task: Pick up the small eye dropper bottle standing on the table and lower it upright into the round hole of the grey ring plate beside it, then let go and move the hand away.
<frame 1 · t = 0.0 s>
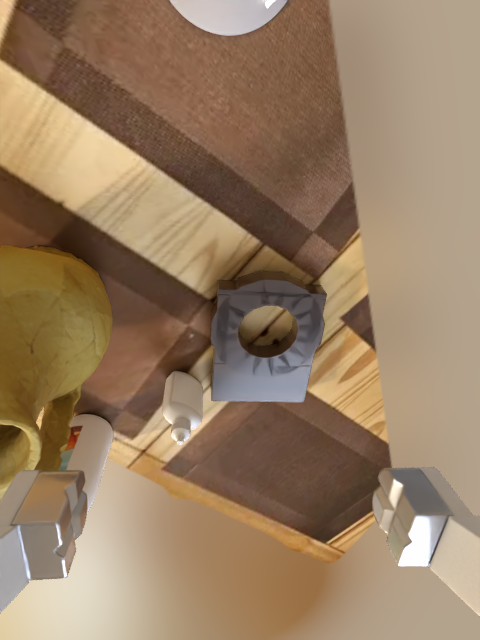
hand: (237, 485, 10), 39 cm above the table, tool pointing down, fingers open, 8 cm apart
milk bottle: (89, 429, 60), on the table
pitcher: (55, 299, 49), on the table
grey ring plate: (262, 339, 54), on the table
eye dropper bottle: (185, 381, 57), on the table
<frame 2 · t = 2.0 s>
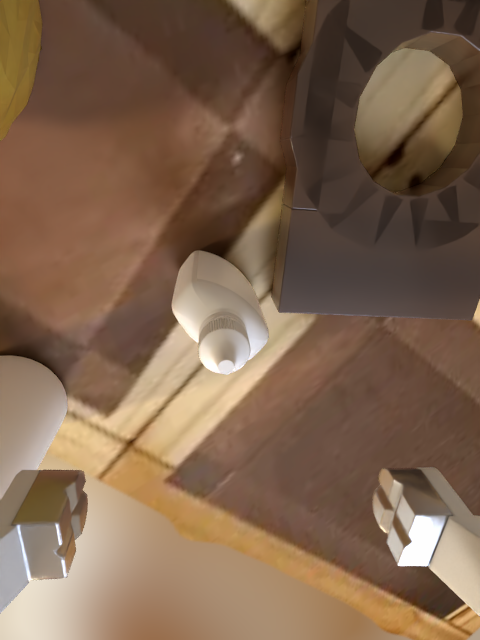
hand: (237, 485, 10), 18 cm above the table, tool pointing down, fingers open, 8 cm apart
milk bottle: (19, 393, 29), on the table
grey ring plate: (389, 175, 25), on the table
eye dropper bottle: (217, 281, 27), on the table
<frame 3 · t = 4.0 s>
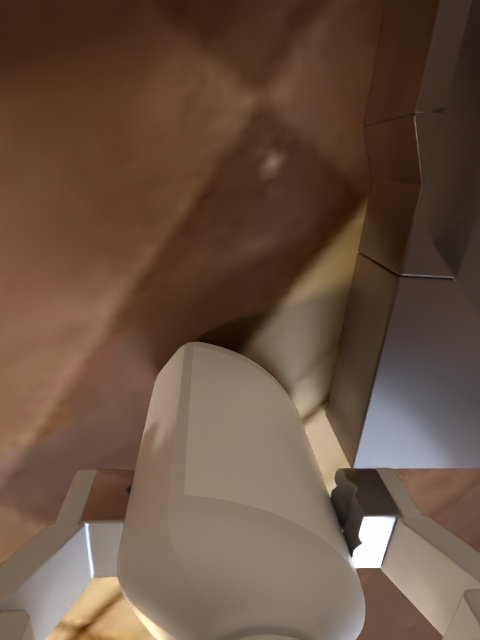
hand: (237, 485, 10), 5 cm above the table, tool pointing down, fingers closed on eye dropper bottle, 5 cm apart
eye dropper bottle: (228, 389, 15), on the table, touching gripper
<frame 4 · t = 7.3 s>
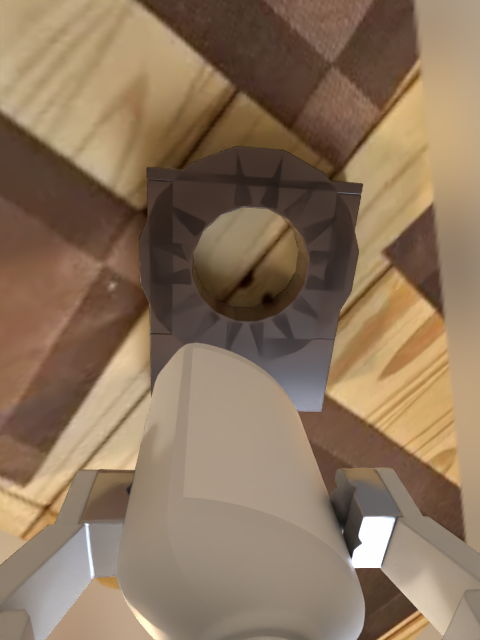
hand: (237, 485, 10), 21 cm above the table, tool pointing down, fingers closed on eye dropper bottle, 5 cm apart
grey ring plate: (243, 294, 30), on the table
eye dropper bottle: (228, 390, 15), point 16 cm above the table, touching gripper
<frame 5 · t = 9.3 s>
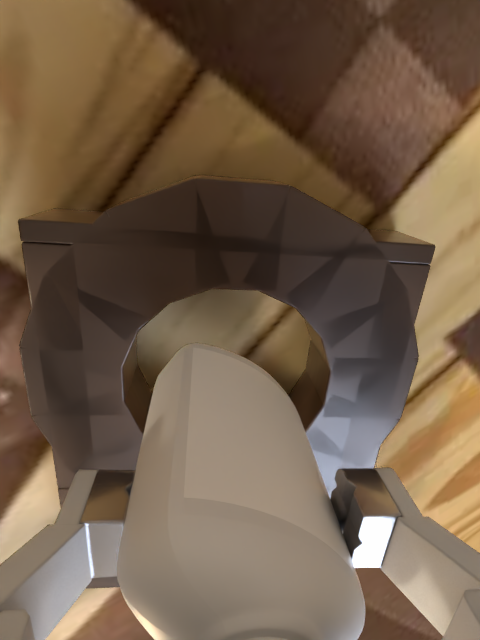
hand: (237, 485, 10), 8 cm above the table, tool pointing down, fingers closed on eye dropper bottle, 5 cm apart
grey ring plate: (220, 404, 19), on the table
eye dropper bottle: (228, 391, 15), point 3 cm above the table, touching gripper
when the fingers open (4 cm above the table, at t = 10.8 s): eye dropper bottle stays where it is, resting in grey ring plate.
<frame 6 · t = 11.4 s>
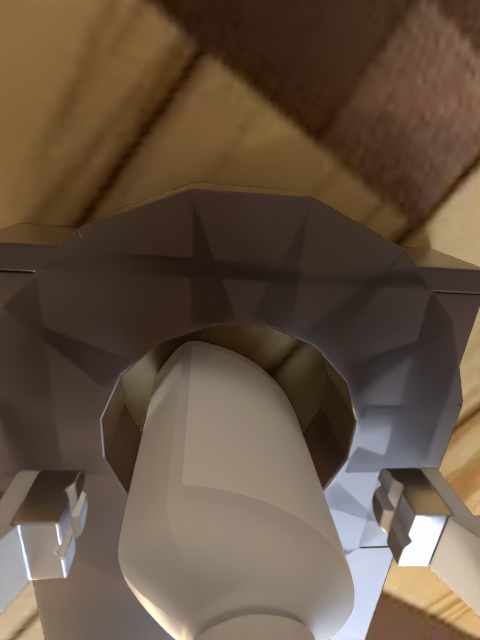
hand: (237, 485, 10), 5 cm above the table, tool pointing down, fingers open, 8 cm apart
grey ring plate: (222, 448, 16), on the table
eye dropper bottle: (226, 388, 15), resting in grey ring plate
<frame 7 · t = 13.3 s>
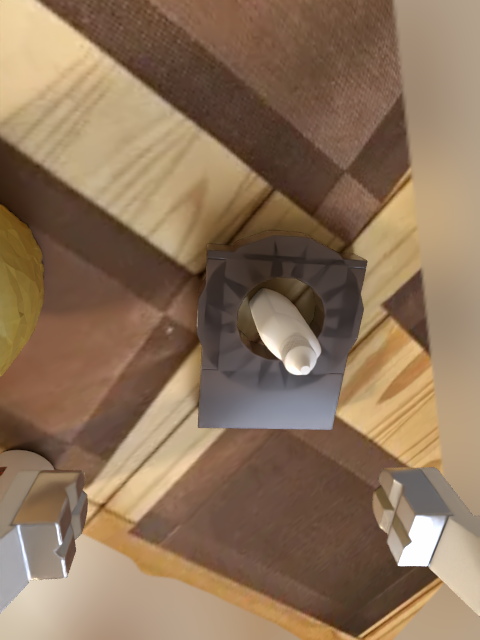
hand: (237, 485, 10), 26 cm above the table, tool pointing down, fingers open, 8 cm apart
milk bottle: (23, 473, 42), on the table
grey ring plate: (271, 337, 38), on the table
eye dropper bottle: (274, 309, 37), resting in grey ring plate
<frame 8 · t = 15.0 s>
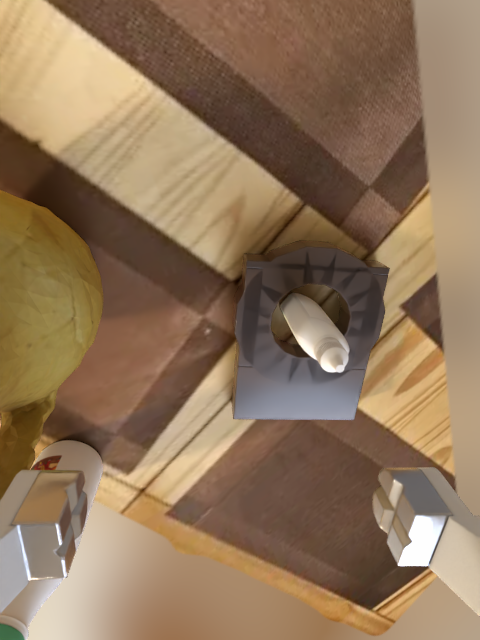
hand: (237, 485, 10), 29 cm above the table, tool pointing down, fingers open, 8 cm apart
milk bottle: (72, 461, 46), on the table
pitcher: (28, 281, 37), on the table
grey ring plate: (299, 336, 41), on the table
eye dropper bottle: (302, 311, 41), resting in grey ring plate
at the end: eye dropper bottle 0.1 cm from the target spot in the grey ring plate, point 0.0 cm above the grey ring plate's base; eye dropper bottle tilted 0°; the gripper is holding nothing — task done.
